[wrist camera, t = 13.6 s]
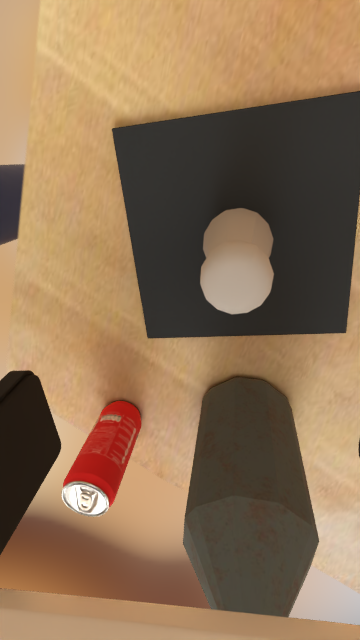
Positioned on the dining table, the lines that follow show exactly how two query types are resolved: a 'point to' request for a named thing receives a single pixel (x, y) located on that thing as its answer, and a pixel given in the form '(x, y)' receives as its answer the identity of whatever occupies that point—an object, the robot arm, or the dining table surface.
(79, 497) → the beverage can
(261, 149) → the mat
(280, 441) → the bottle
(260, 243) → the salt shaker
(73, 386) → the dining table surface
